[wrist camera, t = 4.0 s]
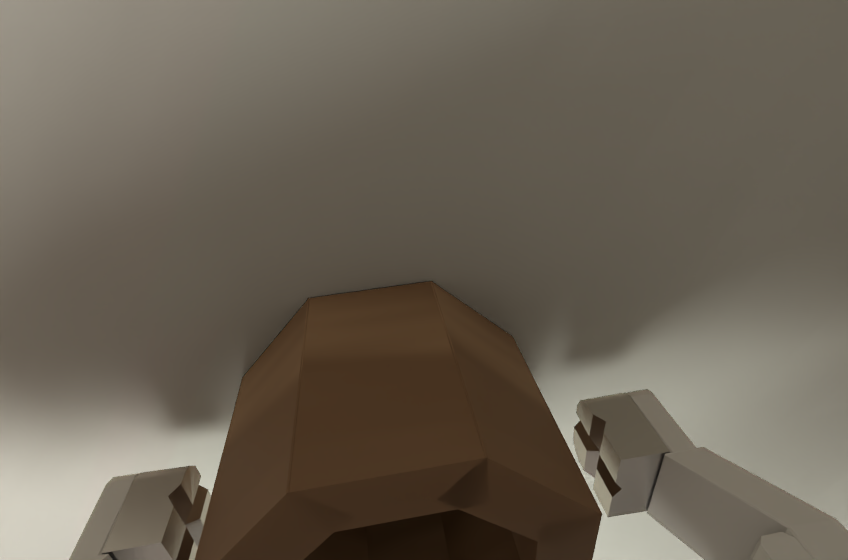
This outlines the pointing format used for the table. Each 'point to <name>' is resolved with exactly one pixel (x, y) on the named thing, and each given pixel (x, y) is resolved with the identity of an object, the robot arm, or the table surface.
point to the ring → (395, 442)
